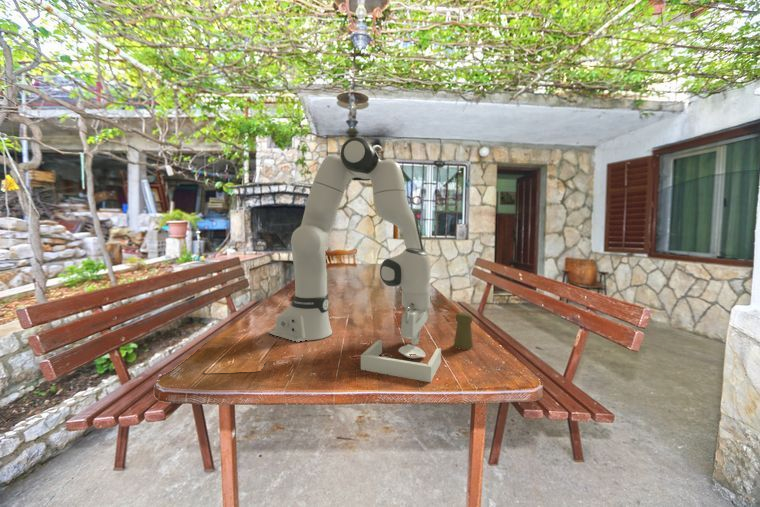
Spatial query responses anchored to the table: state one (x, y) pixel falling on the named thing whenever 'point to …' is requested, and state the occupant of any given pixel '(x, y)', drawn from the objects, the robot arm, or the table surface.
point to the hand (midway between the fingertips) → (415, 343)
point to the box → (399, 364)
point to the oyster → (412, 351)
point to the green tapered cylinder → (463, 331)
